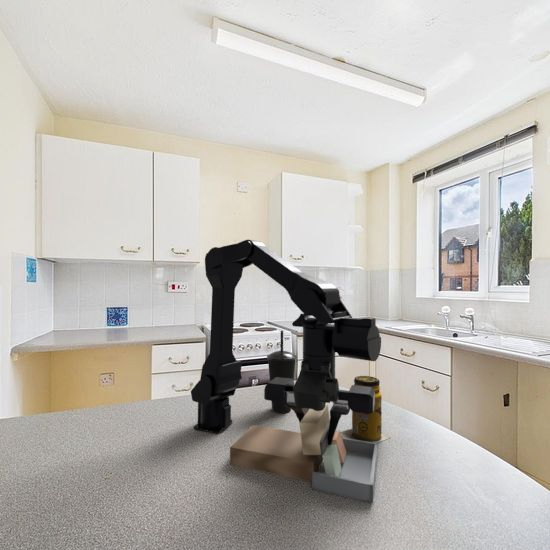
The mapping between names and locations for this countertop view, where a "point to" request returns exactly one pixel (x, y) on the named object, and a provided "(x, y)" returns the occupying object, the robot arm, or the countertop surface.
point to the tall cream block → (315, 431)
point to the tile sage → (332, 461)
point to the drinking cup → (281, 372)
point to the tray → (351, 472)
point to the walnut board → (274, 453)
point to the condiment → (367, 416)
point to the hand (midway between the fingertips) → (318, 443)
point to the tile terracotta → (339, 445)
